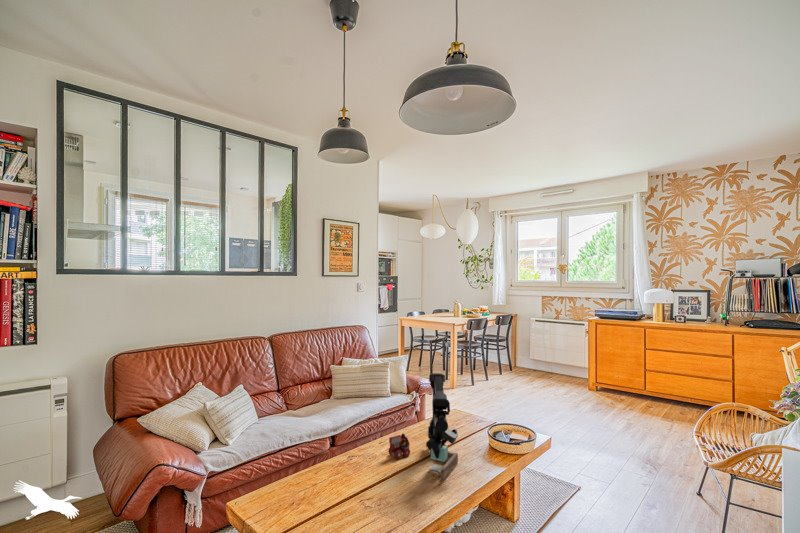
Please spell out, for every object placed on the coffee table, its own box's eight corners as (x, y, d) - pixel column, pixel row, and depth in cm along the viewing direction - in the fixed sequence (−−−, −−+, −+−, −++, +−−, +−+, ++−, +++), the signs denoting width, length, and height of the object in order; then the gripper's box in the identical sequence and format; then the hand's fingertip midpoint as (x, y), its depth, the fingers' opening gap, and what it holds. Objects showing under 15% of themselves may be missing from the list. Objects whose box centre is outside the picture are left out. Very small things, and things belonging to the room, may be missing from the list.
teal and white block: (447, 458, 184) (447, 445, 184) (444, 462, 181) (444, 448, 181) (434, 454, 187) (434, 442, 187) (430, 458, 184) (431, 445, 184)
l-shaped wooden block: (421, 475, 178) (421, 464, 178) (437, 458, 195) (437, 448, 195) (443, 481, 173) (443, 470, 173) (457, 463, 190) (457, 453, 190)
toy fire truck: (412, 454, 198) (413, 434, 198) (393, 461, 191) (394, 440, 191) (404, 449, 204) (405, 430, 204) (385, 455, 196) (386, 435, 196)
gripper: (448, 434, 172) (447, 469, 172) (462, 420, 189) (461, 452, 188) (426, 429, 177) (425, 462, 177) (441, 416, 194) (440, 447, 194)
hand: (439, 456), depth 184 cm, fingers closed on teal and white block, 4 cm apart
